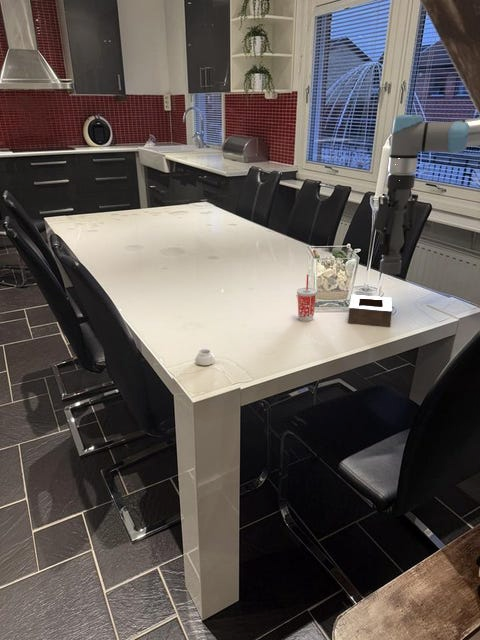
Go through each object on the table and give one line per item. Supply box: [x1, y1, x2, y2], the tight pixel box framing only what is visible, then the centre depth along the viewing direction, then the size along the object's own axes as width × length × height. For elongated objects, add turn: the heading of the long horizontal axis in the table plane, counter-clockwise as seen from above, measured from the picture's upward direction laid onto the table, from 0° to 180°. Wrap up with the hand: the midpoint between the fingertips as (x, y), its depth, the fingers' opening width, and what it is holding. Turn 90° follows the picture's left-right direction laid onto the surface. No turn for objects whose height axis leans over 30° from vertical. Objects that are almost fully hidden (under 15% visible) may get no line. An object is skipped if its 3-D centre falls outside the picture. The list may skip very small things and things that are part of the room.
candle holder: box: [379, 189, 410, 276], centre depth 139 cm, size 6×6×25 cm
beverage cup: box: [296, 274, 318, 322], centre depth 142 cm, size 6×6×14 cm
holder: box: [347, 294, 393, 328], centre depth 143 cm, size 12×12×5 cm
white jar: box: [194, 348, 216, 366], centre depth 117 cm, size 5×3×5 cm
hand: (392, 253), depth 141 cm, fingers closed on candle holder, 6 cm apart
